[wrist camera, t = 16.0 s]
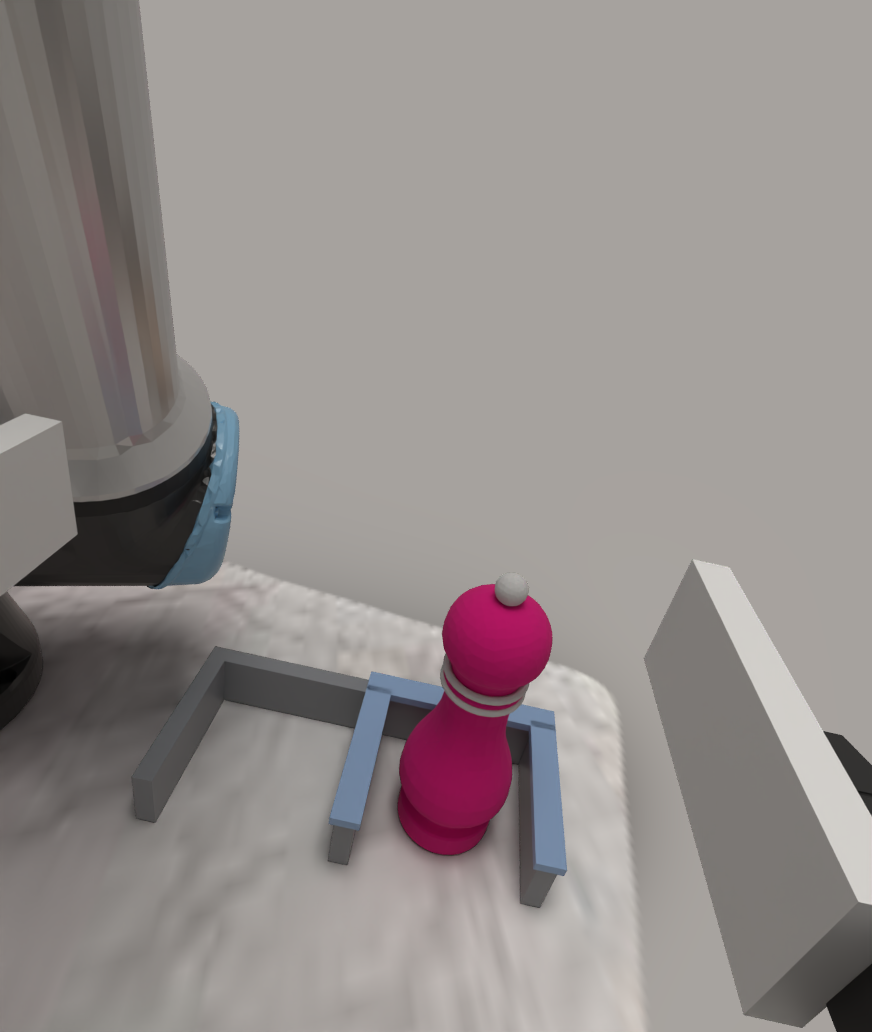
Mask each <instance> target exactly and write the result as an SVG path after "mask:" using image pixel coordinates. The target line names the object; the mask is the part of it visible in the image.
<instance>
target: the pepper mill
mask: <svg viewBox="0 0 872 1032" xmlns="http://www.w3.org/2000/svg"><path fill="white" fill-rule="evenodd" d="M528 592H529V588H528V583H527V581H526V580H525V578H524V577H523V576H521V575H520V574H518V573H513V572H509V573H505V574H503V575H502V576H500V577H499V579H498V580H497V581H496V584H490V585H481V586H478V587H475V588H472V589H469V590H468V591H466V592H465V593H463V594H462V595H461V596H460V597H459V598H458V599H457V600H456V601H455V602H454V603H453V605H452V606H451V607H450V610H449V612H448V614H447V616H446V619H445V621H444V625H443V631H442V637H443V646H444V650H445V652H446V654H445V656H444V661H443V665H442V668H441V673H440V679H441V684H442V687H443V689H444V693H443V696H442V698H441V700H440V701H439V703H438V704H437V706H436V707H435V708H434V709H433V710H432V711H431V712H430V713H429V714H428V715H426V716H425V717H424V718H423V719H422V720H421V721H420V722H419V723H418V724H417V725H416V727H415V728H414V730H413V731H412V732H411V734H410V735H409V737H408V739H407V741H406V744H405V746H404V749H403V752H402V755H401V758H400V767H399V774H400V780H401V784H402V786H401V790H400V794H399V798H398V814H399V818H400V821H401V824H402V826H403V828H404V829H405V831H406V833H407V834H408V835H409V836H410V838H411V839H412V840H413V841H415V842H416V843H417V844H418V845H419V846H421V847H423V848H424V849H426V850H428V851H430V852H433V853H438V854H443V855H454V854H459V853H463V852H465V851H468V850H470V849H471V848H472V847H474V846H475V845H477V843H478V842H479V841H480V840H481V839H482V837H483V835H484V833H485V831H486V829H487V826H488V823H489V821H490V819H492V818H493V817H494V816H495V815H496V814H497V813H498V812H499V811H500V809H501V808H502V806H503V805H504V803H505V801H506V798H507V796H508V793H509V789H510V785H511V780H512V759H511V753H510V749H509V746H508V742H507V739H506V725H507V721H508V717H509V714H510V713H512V712H514V711H515V710H516V709H518V708H519V706H520V705H521V704H522V702H523V700H524V698H525V693H526V691H527V689H528V687H529V683H530V682H531V681H533V680H534V679H536V678H537V677H538V676H539V675H540V673H541V672H542V671H543V669H544V668H545V666H546V664H547V662H548V660H549V657H550V653H551V647H552V630H551V625H550V623H549V620H548V618H547V616H546V613H545V612H544V611H543V609H542V608H541V606H540V605H539V604H538V603H537V602H536V601H535V600H534V599H533V598H531V597H530V596H528Z"/></svg>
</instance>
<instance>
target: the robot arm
mask: <svg viewBox="0 0 872 1032" xmlns="http://www.w3.org/2000/svg"><path fill="white" fill-rule="evenodd" d="M238 452H239V420H238V416H237V414H236V413H235V412H234V411H233V410H232V409H231V408H228V407H224V406H221V405H219V404H218V403H216V402H210V398H209V394H208V391H207V388H206V386H205V384H204V382H203V380H202V379H201V377H200V376H199V374H198V373H197V372H196V371H195V370H194V369H193V368H192V366H190V365H189V364H188V363H187V362H186V361H185V360H184V359H183V358H181V357H180V356H179V355H177V354H176V346H175V337H174V327H173V318H172V308H171V299H170V290H169V280H168V270H167V261H166V252H165V242H164V233H163V224H162V214H161V205H160V195H159V185H158V176H157V167H156V157H155V148H154V138H153V129H152V119H151V111H150V101H149V91H148V81H147V72H146V64H145V53H144V44H143V34H142V25H141V16H140V6H139V0H0V729H2V728H3V727H4V726H5V725H6V724H7V723H9V722H10V721H11V720H12V719H13V718H14V717H15V716H16V715H17V714H18V713H19V712H20V711H21V710H22V709H23V707H24V706H25V705H26V704H27V702H28V701H29V700H30V698H31V697H32V695H33V693H34V692H35V690H36V688H37V686H38V684H39V681H40V678H41V674H42V669H43V659H42V653H41V648H40V643H39V639H38V635H37V632H36V630H35V628H34V626H33V624H32V622H31V621H30V620H29V618H28V617H27V616H26V615H25V613H24V612H23V611H22V610H21V608H20V607H19V606H18V605H17V603H16V602H15V601H14V600H13V599H12V597H11V596H10V595H9V594H8V592H7V591H8V590H9V589H10V588H11V587H13V586H147V587H149V588H151V589H162V588H164V587H166V586H171V585H188V584H200V583H203V582H206V581H208V580H209V579H211V578H212V577H213V576H214V575H215V574H216V573H217V572H218V571H219V569H220V567H221V565H222V562H223V559H224V555H225V551H226V546H227V542H228V536H229V529H230V522H231V508H232V505H233V497H234V494H235V486H236V476H237V465H238ZM644 661H645V664H646V668H647V671H648V675H649V679H650V682H651V685H652V689H653V693H654V696H655V700H656V704H657V707H658V711H659V714H660V718H661V721H662V725H663V728H664V732H665V736H666V739H667V742H668V746H669V750H670V753H671V757H672V761H673V764H674V768H675V771H676V775H677V778H678V782H679V786H680V789H681V793H682V796H683V799H684V803H685V807H686V810H687V814H688V817H689V821H690V825H691V828H692V832H693V836H694V839H695V843H696V846H697V849H698V853H699V857H700V860H701V864H702V868H703V871H704V875H705V878H706V881H707V885H708V889H709V893H710V896H711V899H712V903H713V907H714V910H715V914H716V917H717V921H718V925H719V928H720V932H721V935H722V939H723V942H724V946H725V949H726V953H727V956H728V960H729V964H730V967H731V971H732V975H733V978H734V981H735V985H736V988H737V992H738V996H739V999H740V1003H741V1007H742V1010H743V1014H744V1015H747V1016H751V1017H755V1018H760V1019H765V1020H769V1021H774V1022H778V1023H782V1024H787V1025H791V1026H796V1027H800V1028H803V1027H804V1026H805V1025H806V1024H807V1023H808V1022H809V1021H811V1020H812V1019H813V1018H814V1017H815V1016H816V1015H818V1013H820V1012H821V1011H822V1010H823V1009H825V1008H826V1007H827V1008H828V1011H829V1013H830V1016H831V1018H832V1021H833V1024H834V1026H835V1029H836V1031H837V1032H872V765H871V764H870V763H869V762H868V761H867V760H866V759H865V758H864V757H863V756H862V755H861V754H860V753H859V752H858V751H857V750H856V749H855V748H854V747H853V746H852V745H851V744H850V743H849V742H848V741H847V740H846V739H845V738H844V737H843V736H842V735H838V734H833V733H829V732H825V731H822V729H821V727H820V725H819V724H818V722H817V720H816V718H815V716H814V715H813V713H812V711H811V709H810V708H809V706H808V704H807V702H806V701H805V699H804V697H803V695H802V694H801V692H800V690H799V688H798V687H797V685H796V683H795V681H794V680H793V678H792V676H791V674H790V673H789V671H788V669H787V668H786V666H785V664H784V662H783V660H782V659H781V657H780V655H779V653H778V652H777V650H776V648H775V646H774V645H773V643H772V641H771V639H770V638H769V636H768V634H767V632H766V631H765V629H764V627H763V625H762V624H761V622H760V620H759V618H758V617H757V615H756V613H755V611H754V610H753V608H752V606H751V605H750V603H749V601H748V599H747V597H746V596H745V594H744V592H743V591H742V589H741V587H740V585H739V583H738V582H737V580H736V578H735V577H734V575H733V573H732V571H731V569H730V568H729V567H726V566H721V565H717V564H712V563H707V562H703V561H698V560H694V559H692V561H691V563H690V565H689V567H688V569H687V571H686V573H685V575H684V578H683V579H682V581H681V583H680V585H679V587H678V590H677V592H676V594H675V596H674V598H673V600H672V602H671V604H670V606H669V608H668V610H667V612H666V614H665V616H664V618H663V620H662V622H661V624H660V626H659V628H658V631H657V633H656V635H655V637H654V639H653V641H652V643H651V645H650V647H649V649H648V651H647V653H646V655H645V658H644Z"/></svg>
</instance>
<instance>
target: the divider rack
mask: <svg viewBox="0 0 872 1032" xmlns="http://www.w3.org/2000/svg"><path fill="white" fill-rule="evenodd" d="M443 693H444V689H443V687H440V686H435V685H431V684H426V683H422V682H417V681H413V680H408V679H404V678H399V677H395V676H390V675H385V674H381V673H376V672H372V671H371V675H370V678H369V680H367V679H362V678H358V677H353V676H348V675H344V674H339V673H335V672H330V671H326V670H321V669H317V668H312V667H308V666H303V665H299V664H294V663H289V662H285V661H280V660H276V659H271V658H267V657H262V656H258V655H253V654H249V653H244V652H239V651H235V650H230V649H226V648H221V647H217V646H215V648H214V649H213V651H212V652H211V654H210V655H209V657H208V659H207V660H206V662H205V663H204V665H203V666H202V668H201V669H200V671H199V673H198V674H197V676H196V677H195V679H194V680H193V682H192V683H191V685H190V687H189V688H188V690H187V691H186V693H185V694H184V696H183V697H182V699H181V701H180V702H179V704H178V705H177V707H176V708H175V710H174V711H173V713H172V715H171V716H170V718H169V719H168V721H167V722H166V724H165V726H164V727H163V729H162V730H161V732H160V733H159V735H158V736H157V738H156V740H155V741H154V743H153V744H152V746H151V747H150V749H149V750H148V752H147V754H146V755H145V757H144V758H143V760H142V761H141V763H140V764H139V766H138V768H137V769H136V771H135V772H134V774H133V775H132V786H133V795H134V804H135V813H136V818H137V819H142V820H146V821H151V822H156V820H157V819H158V817H159V815H160V813H161V811H162V810H163V808H164V806H165V804H166V802H167V801H168V799H169V797H170V795H171V794H172V792H173V790H174V788H175V786H176V785H177V783H178V781H179V779H180V777H181V776H182V774H183V772H184V770H185V768H186V767H187V765H188V763H189V761H190V760H191V758H192V756H193V754H194V752H195V751H196V749H197V747H198V745H199V743H200V742H201V740H202V738H203V736H204V734H205V733H206V731H207V729H208V727H209V726H210V724H211V722H212V720H213V718H214V717H215V715H216V713H217V711H218V709H219V708H220V706H221V704H222V702H223V700H229V701H233V702H238V703H242V704H247V705H251V706H256V707H261V708H265V709H270V710H274V711H279V712H283V713H288V714H292V715H297V716H301V717H306V718H310V719H315V720H319V721H324V722H329V723H333V724H338V725H342V726H347V727H351V728H355V731H354V734H353V737H352V741H351V744H350V748H349V751H348V755H347V758H346V762H345V765H344V769H343V772H342V776H341V779H340V783H339V786H338V790H337V793H336V797H335V800H334V804H333V807H332V810H331V814H330V817H329V824H331V825H334V828H333V834H332V840H331V846H330V852H329V858H328V861H331V862H336V863H340V864H345V865H347V864H348V860H349V856H350V851H351V847H352V843H353V839H354V835H355V831H356V830H358V831H359V829H360V825H361V821H362V816H363V812H364V808H365V804H366V799H367V795H368V791H369V787H370V782H371V778H372V774H373V770H374V765H375V761H376V757H377V753H378V748H379V744H380V740H381V736H382V734H383V735H387V736H392V737H397V738H401V739H406V740H407V739H408V737H409V735H410V734H411V732H412V731H413V730H414V728H415V727H416V725H417V724H418V723H419V722H420V721H421V720H422V719H423V718H424V717H425V716H426V715H428V714H429V713H430V712H431V711H432V710H433V709H434V708H435V707H436V706H437V704H438V703H439V701H440V700H441V698H442V696H443ZM506 739H507V742H508V746H509V749H510V753H511V759H512V763H514V764H519V827H520V904H525V905H529V906H534V907H538V908H540V906H541V904H542V902H543V901H544V899H545V897H546V895H547V893H548V891H549V889H550V887H551V885H552V883H553V881H554V879H555V877H556V875H561V876H564V875H565V873H566V871H567V865H566V852H565V840H564V828H563V815H562V803H561V791H560V779H559V766H558V754H557V742H556V729H555V717H554V711H549V710H544V709H540V708H535V707H531V706H526V705H522V704H521V705H520V706H519V708H518V709H516V710H515V711H514V712H512V713H510V714H509V717H508V721H507V725H506Z"/></svg>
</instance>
